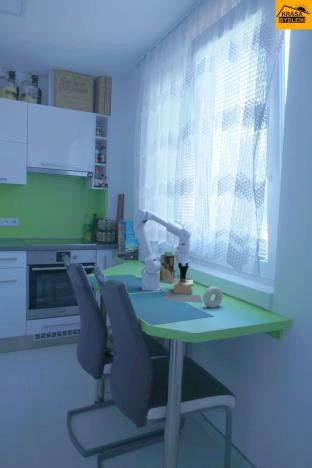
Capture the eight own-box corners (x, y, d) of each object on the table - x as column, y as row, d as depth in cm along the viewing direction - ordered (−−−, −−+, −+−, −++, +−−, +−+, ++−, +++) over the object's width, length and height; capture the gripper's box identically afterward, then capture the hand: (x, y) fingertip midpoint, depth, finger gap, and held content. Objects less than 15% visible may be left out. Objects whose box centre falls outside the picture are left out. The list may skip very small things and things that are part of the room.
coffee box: (176, 281, 207) (177, 255, 205) (173, 283, 201) (174, 256, 199) (162, 279, 210) (163, 254, 209) (159, 281, 204) (160, 255, 203)
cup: (157, 280, 207) (158, 266, 207) (141, 280, 205) (142, 266, 205) (155, 278, 214) (156, 264, 214) (140, 278, 213) (140, 264, 212)
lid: (172, 285, 173) (172, 275, 173) (172, 280, 184) (172, 271, 184) (193, 286, 173) (194, 276, 172) (192, 281, 184) (192, 272, 183)
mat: (163, 301, 160) (164, 300, 160) (164, 294, 173) (164, 293, 173) (202, 303, 159) (202, 302, 159) (200, 296, 172) (200, 295, 172)
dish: (173, 294, 175) (174, 284, 174) (173, 290, 184) (174, 281, 183) (191, 295, 174) (191, 285, 174) (190, 291, 183) (190, 281, 183)
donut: (205, 310, 149) (206, 287, 148) (200, 308, 152) (201, 286, 151) (223, 308, 153) (224, 286, 152) (218, 305, 156) (219, 284, 156)
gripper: (192, 253, 170) (191, 280, 171) (190, 250, 184) (189, 275, 185) (178, 253, 170) (177, 280, 171) (177, 249, 185) (176, 274, 186)
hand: (182, 277), depth 178 cm, fingers open, 5 cm apart
